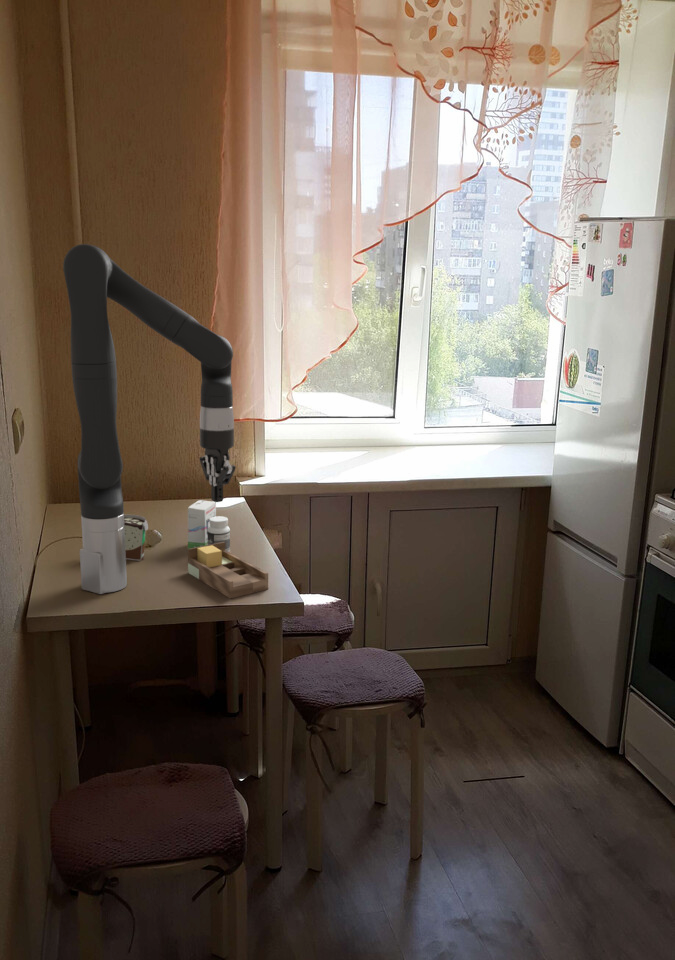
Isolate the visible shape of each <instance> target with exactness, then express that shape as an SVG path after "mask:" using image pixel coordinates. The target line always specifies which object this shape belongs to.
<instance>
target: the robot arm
mask: <svg viewBox="0 0 675 960" xmlns="http://www.w3.org/2000/svg"><path fill="white" fill-rule="evenodd" d="M62 264H63V266H62V267H63V268H62V269H63V276H64V279H65V284H66V285H65V286H66V290H67V296H68V297H67V298H68V302H69V310H70V361H71V362H70V363H71V365H70V366H71V379H72V386H73V393H74V398H75V402H76V408H77V411H78V417H79V422H80V427H81V428H80V429H81V436H80V437H81V442H80V444H81V447H80V450H79V451H80V452H79V454H78V456H77V479H78V491H79V492H78V493H79V506H80V515H81V516H80V517H81V518H80V519H81V533H82V535H81V536H82V537H81V538H82V548H80V549H79V563H80V564H79V565H80V579H81V580H80V581H81V583H80V584H81V590H83V591H88V592H92V593H94V594H98V595H103V594H107V593H113V592H118V591H121V590H123V589H125V588H126V587H127V585H128V581H127V579H128V578H127V559H126V552H125V530H124V515H125V511H124V509H125V507H124V499H123V490H122V473H123V471H124V470H123V469H124V468H123V467H124V464H123V463H124V462H123V459H122V455H121V451H120V450H121V449H120V445H119V437H118V431H117V409H118V408H117V407H118V374H117V373H118V371H117V370H118V369H117V357H116V350H115V349H116V348H115V344H114V339H113V336H112V331H111V327H110V323H109V317H108V308H107V307H108V304H107V303H108V299H110V300H112V301H114V302H115V303H117V304H118V305H120V306H122V307H123V308H124V309H126V310H127V311H128V312H130V313H131V314H133V315H134V316H135V317H137V318H138V319H139V320H140V321H141V322H142V323H144V324H145V325H146V326H147V327H149V329H152V330H153V332H156V333H157V334H159V335H160V336H162V338H163V337H164V338H165V339H167V340H168V341H169V342H171V343H173V344H174V345H176V346H178V347H180V348H182V349H183V350H185V351H186V352H187V353H188V354H190V355H191V357H194V358H195V359H196V360H197V361H198V362H200V369H201V385H200V412H199V446H200V447H201V448H203V449H204V455H203V456H200V457H199V462H200V466H201V469H202V472H203V474H204V478H205V480H206V481H209V482H208V483H209V485H210V486H211V487H210V488H211V490H210V491H211V494H210V495H211V497H210V498H211V501H212V502H216V503H220V502H223V500H224V486H225V485H228V484H229V483H230V482H231V480H232V477H233V475H234V473H235V471H236V465H234V464H232V465H231V463H230V454H229V450H230V449H232V448H233V447H234V445H235V441H234V440H235V438H234V437H235V434H234V433H235V431H234V430H235V428H234V427H235V421H234V420H235V417H234V408H233V404H234V403H233V397H234V395H233V394H234V393H233V384H232V363H233V362H232V361H233V357H234V351H233V350H234V349H233V347H232V345H231V343H230V341H229V340H228V339H227V338H226V337H224V336H222V335H218V334H217V333H215V332H214V331H212V330H210V329H209V328H207V327H205V326H204V325H202V324H201V323H200V322H199V321H197V319H195V318H194V317H193V316H192V315H191V314H189V313H187V311H185V310H183V309H181V308H180V307H178V305H175V304H174V303H172V302H170V301H169V300H168V299H166V298H165V297H163V296H161V295H159V294H158V293H156V292H155V291H153V290H152V289H149V288H147V286H145V285H143V284H142V283H140V282H139V281H138V280H137V279H136V280H135V278H133V277H132V276H131V275H130V274H128V273H127V272H126V271H124V270H123V269H122V268H121V267H120V265H118V264H117V262H115V261H114V260H113V259H112V258H111V257H109V255H108V254H107V253H106V251H104V250H103V249H102V248H101V247H99V246H96V245H92V244H87V243H81V244H77V245H75V246H73V247H72V248H70V249H69V250H68V251H67V253H66V255H65V257H64V259H63V262H62Z"/></svg>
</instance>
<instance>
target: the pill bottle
mask: <svg viewBox="0 0 675 960" xmlns="http://www.w3.org/2000/svg"><path fill="white" fill-rule="evenodd" d="M209 523H210V527H209V528H208V530H207V535H208V545H210V544H215V543H220V542H225V550H226V551H227V552H229V553H231V529H230V527H229V525H228V524H229V519H228V517H227V516H222V515H221V516H220V515H218V516H217V515H216V517H211V518H210V519H209Z"/></svg>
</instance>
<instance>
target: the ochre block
mask: <svg viewBox="0 0 675 960" xmlns="http://www.w3.org/2000/svg"><path fill="white" fill-rule="evenodd" d="M197 561H199V562H201V563H202V564H204V565H206V566H208V567H214V566H219V565H222V551H221V550H219V549H218V548H216V547H214V546H213V545H211V546H206V547H200V548H197Z"/></svg>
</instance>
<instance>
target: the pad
mask: <svg viewBox="0 0 675 960" xmlns="http://www.w3.org/2000/svg"><path fill="white" fill-rule="evenodd" d="M231 562H232V561H230V560H228V559H226V558H225V557H223V556H222V564H226V563H231ZM187 572H188V574H189V575H191V576H193V577H195V578H196V579H198V580H199V569H197V568H196V567H194V566H192V565H191V564H189V563H188V562H187Z"/></svg>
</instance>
